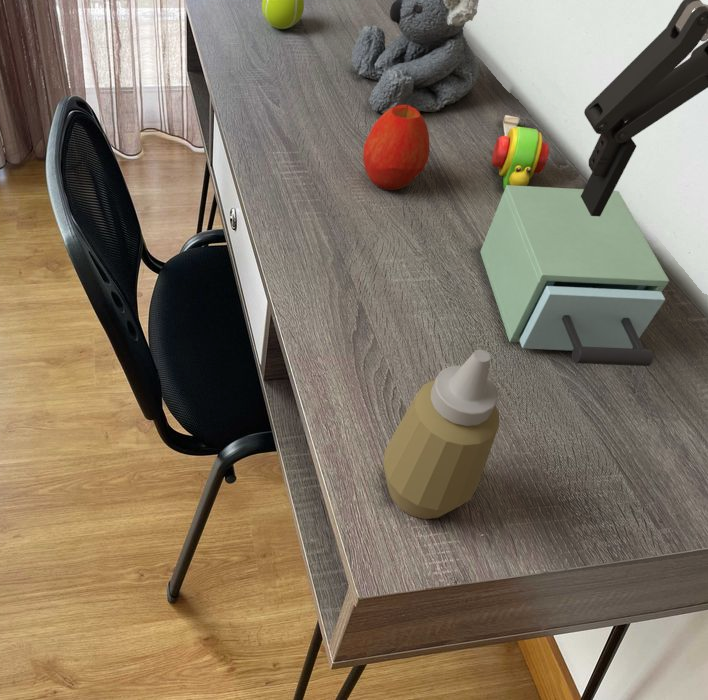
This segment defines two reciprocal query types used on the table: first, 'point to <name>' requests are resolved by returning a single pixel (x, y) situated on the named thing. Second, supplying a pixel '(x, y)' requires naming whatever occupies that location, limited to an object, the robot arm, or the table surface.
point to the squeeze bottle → (444, 440)
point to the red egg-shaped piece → (396, 148)
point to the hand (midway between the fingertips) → (669, 210)
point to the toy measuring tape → (519, 153)
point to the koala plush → (419, 56)
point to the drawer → (593, 322)
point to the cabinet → (561, 249)
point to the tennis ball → (282, 12)
